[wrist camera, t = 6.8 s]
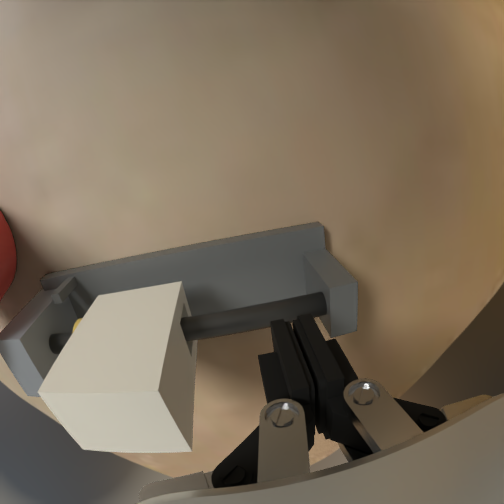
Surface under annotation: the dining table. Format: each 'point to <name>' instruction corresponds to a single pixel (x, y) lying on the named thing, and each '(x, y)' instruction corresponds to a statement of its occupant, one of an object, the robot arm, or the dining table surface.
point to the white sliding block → (127, 374)
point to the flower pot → (6, 256)
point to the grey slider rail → (193, 293)
